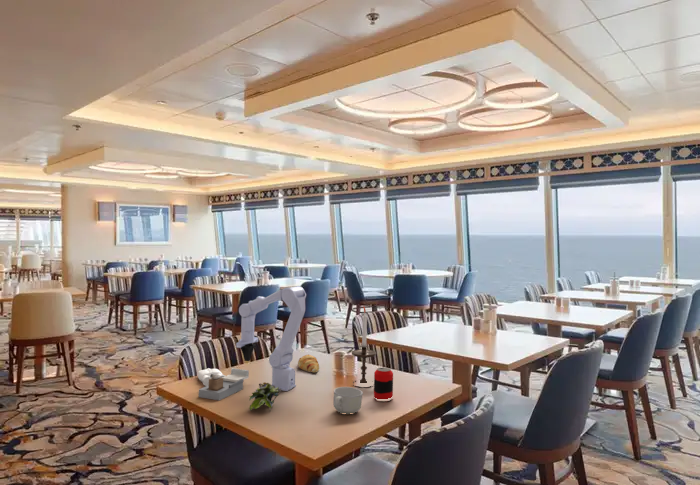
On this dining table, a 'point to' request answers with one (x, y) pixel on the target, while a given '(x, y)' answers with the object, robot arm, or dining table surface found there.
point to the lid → (236, 375)
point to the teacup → (347, 399)
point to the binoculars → (208, 375)
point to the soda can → (383, 383)
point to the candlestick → (364, 349)
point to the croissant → (308, 363)
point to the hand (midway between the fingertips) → (247, 360)
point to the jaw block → (215, 383)
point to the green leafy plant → (264, 395)
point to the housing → (222, 390)
